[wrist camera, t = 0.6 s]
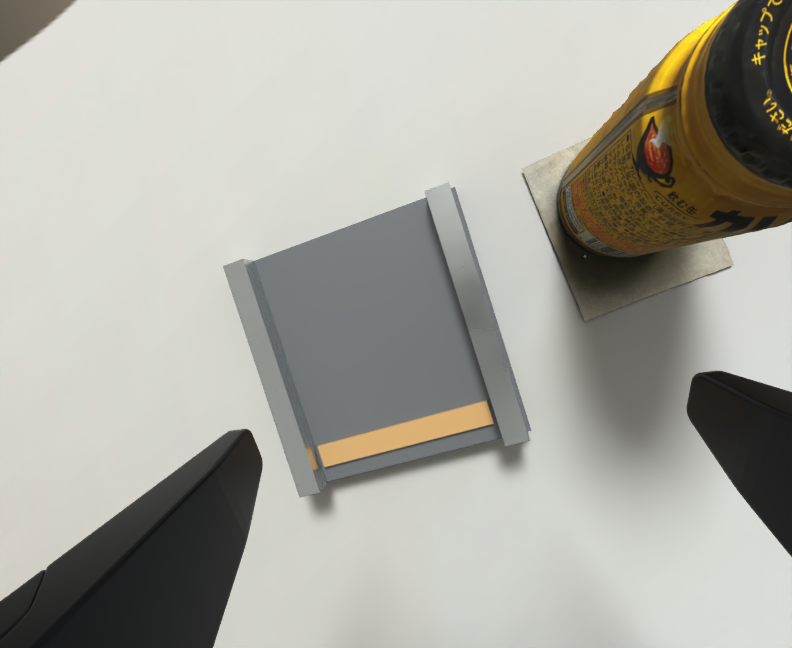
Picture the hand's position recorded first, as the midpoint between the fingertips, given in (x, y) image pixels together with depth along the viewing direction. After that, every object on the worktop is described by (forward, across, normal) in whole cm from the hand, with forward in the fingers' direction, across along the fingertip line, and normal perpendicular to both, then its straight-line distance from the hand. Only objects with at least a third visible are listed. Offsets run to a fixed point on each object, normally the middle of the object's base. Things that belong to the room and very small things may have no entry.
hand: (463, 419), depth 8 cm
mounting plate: (+13, +3, +5) cm, 14 cm away
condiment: (+14, -10, 0) cm, 17 cm away
